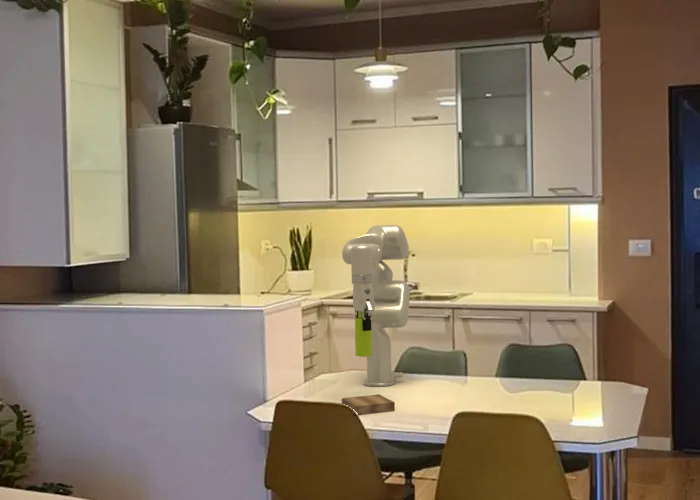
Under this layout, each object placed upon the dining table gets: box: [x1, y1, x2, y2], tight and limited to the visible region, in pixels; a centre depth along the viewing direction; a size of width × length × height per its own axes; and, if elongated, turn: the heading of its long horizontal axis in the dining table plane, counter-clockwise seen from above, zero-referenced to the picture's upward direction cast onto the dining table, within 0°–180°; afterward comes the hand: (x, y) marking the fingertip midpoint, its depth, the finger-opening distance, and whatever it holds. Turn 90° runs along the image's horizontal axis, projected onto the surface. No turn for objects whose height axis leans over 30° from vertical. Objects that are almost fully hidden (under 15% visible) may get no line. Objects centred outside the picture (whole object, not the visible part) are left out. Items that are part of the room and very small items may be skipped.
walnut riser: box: [341, 394, 396, 416], centre depth 309 cm, size 14×14×3 cm
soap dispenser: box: [354, 310, 372, 358], centre depth 322 cm, size 6×7×20 cm
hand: (363, 329), depth 322 cm, fingers closed on soap dispenser, 6 cm apart
